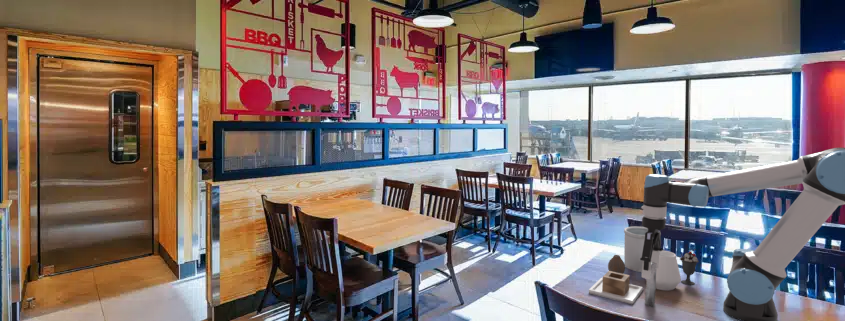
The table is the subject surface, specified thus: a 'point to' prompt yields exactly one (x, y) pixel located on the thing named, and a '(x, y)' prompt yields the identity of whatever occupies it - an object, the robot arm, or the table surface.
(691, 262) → the sundae
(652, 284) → the pin
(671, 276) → the cup
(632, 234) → the utensil holder
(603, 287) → the wooden square holder
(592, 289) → the tray
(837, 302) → the table surface
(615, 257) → the vase
